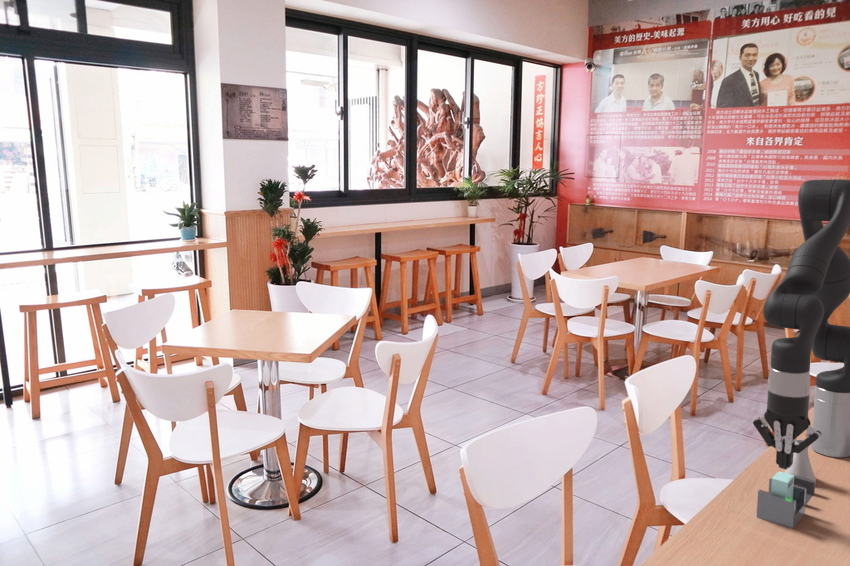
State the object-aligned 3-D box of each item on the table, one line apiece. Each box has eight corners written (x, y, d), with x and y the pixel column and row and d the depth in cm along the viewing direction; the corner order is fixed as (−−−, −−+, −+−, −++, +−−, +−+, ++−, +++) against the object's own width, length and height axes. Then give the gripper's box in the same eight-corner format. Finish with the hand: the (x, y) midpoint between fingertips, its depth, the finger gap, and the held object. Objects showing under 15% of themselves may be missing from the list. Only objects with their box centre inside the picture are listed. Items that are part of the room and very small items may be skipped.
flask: (822, 489, 151) (825, 449, 149) (787, 487, 153) (790, 447, 151) (810, 475, 158) (813, 436, 156) (778, 473, 159) (780, 434, 158)
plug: (776, 505, 142) (778, 470, 141) (792, 510, 140) (794, 475, 139) (769, 513, 139) (771, 478, 138) (785, 518, 137) (787, 482, 136)
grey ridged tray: (790, 488, 152) (791, 473, 152) (814, 495, 149) (815, 480, 148) (778, 501, 147) (779, 486, 146) (803, 509, 143) (804, 493, 142)
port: (769, 505, 145) (771, 475, 144) (804, 516, 140) (806, 485, 139) (755, 520, 140) (757, 489, 138) (792, 532, 135) (794, 500, 133)
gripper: (830, 391, 133) (824, 470, 136) (760, 377, 142) (757, 452, 145) (819, 401, 128) (813, 484, 131) (748, 387, 137) (744, 464, 140)
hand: (783, 467), depth 138 cm, fingers closed
